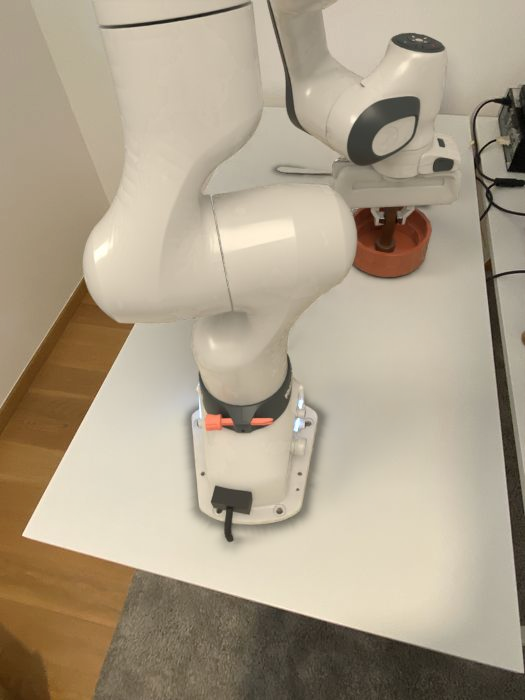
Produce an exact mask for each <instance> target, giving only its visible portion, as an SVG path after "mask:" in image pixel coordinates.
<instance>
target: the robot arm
mask: <svg viewBox="0 0 525 700" xmlns="http://www.w3.org/2000/svg"><path fill="white" fill-rule="evenodd" d="M90 1H91V4H92V9H93V12H94V16H95V19H96V24H97V25H98V26H97V27H98V31H99V34H100V38H101V42H102V46H103V48H104V53H105V55H106V56H105V57H106V60H107V63H108V67H109V72H110V77H111V80H112V84H113V89H114V93H115V99H116V102H117V106H118V112H119V118H120V122H121V128H122V137H123V149H124V150H123V165H122V170H121V171H122V172H121V177H120V181H119V186H118V188H117V190H116V193H115V197H114V198H113V199H112V200H113V201H112V202H111V204H110V206H109V208H108V210H107V211H106V212H105V214H104V215H103V216H102V218H100V220H99V221H98V222H97V223H96V224H95V225H94V226H93V229H92V230H91V232H90V233H89V236H88V237H87V240H86V243H85V246H84V249H83V255H82V273H83V277H84V278H83V279H84V282H85V285H86V288H87V291H88V293H89V295H90V296H91V298H92V300H93V301H94V303H95V305H97V306H98V308H99V309H100V310H101V311H102V312H103V313H104V314H105V315H107V316H108V317H109V318H110V319H111V320H114V321H115V322H117V323H118V324H138V325H139V324H140V325H142V324H144V325H146V324H149V325H150V324H151V325H154V324H155V325H156V324H164V325H165V324H173V323H176V322H177V323H178V322H182V321H188V320H193V319H196V320H195V322H194V324H193V327H192V331H191V336H190V337H191V338H190V346H191V351H192V353H193V356H194V360H195V363H196V366H197V368H198V373H197V374H198V384H197V386H196V387H195V389H196V390H195V391H196V393H197V395H198V402H199V403H198V404H199V408H198V409H197V410H195V411H194V412H193V413H192V414H191V418H190V419H191V430H192V431H191V433H192V443H193V454H194V466H195V477H196V489H197V490H196V491H197V500H198V507H199V509H200V511H201V512H202V513H203V514H205V515H206V516H208V517H210V518H212V519H214V520H217V521H220V522H222V523H223V522H224V527H223V532H224V533H223V534H224V537H225V539H226V542H228V543H232V542H233V541H234V535H233V533H232V524H234V525H249V526H250V525H251V526H252V525H267V524H268V525H269V524H273V523H278V522H281V521H284V520H287V519H289V518H292V517H293V516H296V515H297V514H298V513H300V512H301V511H302V507H303V504H304V500H305V499H304V498H305V493H306V487H307V483H308V478H309V472H310V466H311V462H312V461H311V460H312V455H313V450H314V444H315V440H316V434H317V428H318V423H319V417H318V412H317V411H315V410H314V409H313V408H312V407H310V406H308V405H307V404H305V391H304V390H305V389H304V385H302V383H301V382H300V381H298V380H297V379H296V378H295V377H294V374H293V373H294V372H293V366H292V362H291V358H290V356H289V353H288V340H289V334H290V332H291V330H292V328H293V327H294V325H295V323H296V322H297V321H298V319H299V318H300V317H301V316H302V315H303V314H304V313H305V311H306V310H307V309H308V308H309V307H310V306H311V305H312V304H313V303H314V302H315V301H316V300H318V299H319V298H320V297H322V296H323V295H324V294H325V293H327V292H328V291H330V290H331V289H333V288H335V287H336V286H338V285H340V284H341V283H342V282H343V281H344V280H345V279H346V278H347V276H348V274H349V272H350V270H351V269H352V266H353V265H354V264H353V262H354V258H355V255H356V250H357V229H356V224H355V220H354V217H353V213H352V211H351V210H352V209H359V208H370V209H371V213H372V214H373V216H374V223H375V226H379V225H384V219H385V218H384V212H379V208H380V207H399V206H404V208H403V209H402V210H401V211H398V212H397V217H396V225H405V221H406V217H408V216H409V215H410V214H411V213H412V212H413V211H414V209H415V208H416V206H417V207H418V206H420V207H421V206H422V207H423V206H445V205H446V206H447V205H452V204H453V203H455V202H456V201H457V200H458V199H459V195H460V192H461V186H462V185H461V184H462V173H461V170H460V168H461V165H462V155H461V151H460V148H459V145H458V143H457V142H456V139H455V138H454V137H453V136H452V135H450V134H446V133H442V132H438V131H436V127H435V122H436V119H437V116H438V115H439V113H440V111H441V108H442V102H443V98H444V93H445V88H446V81H447V76H448V75H447V74H448V52H447V51H448V50H447V48H446V46H445V45H444V44H443V43H442V42H441V41H439V40H437V39H436V38H433V37H431V36H428V35H426V34H423V33H416V32H401V33H398V34H396V35H393V36H391V37H390V39H389V41H388V43H387V47H386V50H385V53H384V56H383V57H382V58H381V61H380V62H379V64H378V65H377V66H376V67H375V68H374V69H373V70H372V72H371V73H369V74H368V75H367V76H365V78H364V77H362V76H361V75H359V74H358V73H356V72H354V71H353V70H351V69H349V68H347V67H345V66H344V65H343V64H342V63H340V62H339V61H338V60H337V59H336V58H335V57H334V56H333V55H332V54H331V52H330V50H329V47H328V41H327V35H326V29H325V22H324V16H323V10H325V9H327V8H329V7H331V6H332V5H334V4H335V3H337V2H339V0H266V4H267V9H268V14H269V17H270V21H271V24H272V29H273V31H274V36H275V40H276V43H277V47H278V51H279V55H280V59H281V62H282V66H283V71H284V79H285V111H286V114H287V117H288V119H289V121H290V123H291V124H292V125H293V126H294V127H295V128H296V129H298V130H299V131H302V132H304V133H306V134H308V135H309V136H312V137H314V138H315V139H316V140H318V141H319V142H321V143H322V144H323V145H325V146H327V147H328V148H329V149H330V150H332V151H334V152H336V153H337V154H339V156H340V157H339V156H338V157H337V158H336V159H335V160H334V161H333V162H332V165H331V171H332V173H331V176H332V178H333V183H332V184H333V185H332V187H331V185H328V184H317V183H316V184H315V183H284V182H283V183H274V184H268V185H263V186H257V187H252V188H246V189H240V190H235V191H229V192H223V193H217V194H212V195H211V194H204V193H202V192H201V191H202V189H203V187H204V185H205V182H206V181H207V179H208V178H209V176H210V175H211V174H212V173H213V172H214V171H215V170H216V169H217V168H218V167H219V166H221V165H222V164H223V163H225V162H226V161H227V160H229V159H230V158H232V157H233V156H234V155H235V154H237V153H238V152H239V151H240V150H241V149H243V148H244V147H245V146H246V144H247V143H248V142H249V141H250V140H251V138H252V137H253V136H254V134H255V132H256V131H257V129H258V127H259V125H260V123H261V120H262V118H263V117H262V116H263V113H264V105H265V104H264V103H265V101H264V92H263V84H262V83H263V82H262V75H261V65H260V55H259V48H258V38H257V28H256V19H255V10H254V2H253V1H252V0H90ZM307 424H309V425H307ZM218 510H221V512H220V513H218ZM279 510H281V511H282V512H281V513H278V512H277V511H279Z"/></svg>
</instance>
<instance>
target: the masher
mask: <svg viewBox="0 0 525 700" xmlns="http://www.w3.org/2000/svg"><path fill="white" fill-rule="evenodd" d="M397 212H398V207H385V210H384V218H385V219H384V225H382V230H381V236H380V237H378V238H377V239H376V243H375V250H376V251H380V252H386V253H392V252H393V251H394V250H395V245H396V241H395V239H394V238H393V234H394V228H395V223H396V217H397Z"/></svg>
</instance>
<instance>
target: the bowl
mask: <svg viewBox="0 0 525 700" xmlns="http://www.w3.org/2000/svg"><path fill="white" fill-rule="evenodd" d="M403 208H404V206H399V207H398V211H401V210H402V209H403ZM384 210H385V207H380V208H379V212H384ZM352 215H353V217H354V220H355V224H356V229H357V250H356V255H355V258H354V262H353V264H352V265H354V266H355V267H356V268H357V269H359V270H360V271H363V272H364V273H367V274H369V275H372V276H376V277H380V278H381V277H382V278H397V277H401V276H404V275H408V274H410V273H412V272H414V271H415V270H417V269H418V268H420V266H421V265H422V264H423V263H424V261H425V259H426V255H427V252H428V248H429V243H430V239H431V236H432V231H433V228H432V224H431V220H430V219H429V218H428V217H427V215H426V214H425V213H424V212H423V211H421V210H420V209H418V208H417V207H415V209H414V211H413V212H412V213H411V214H410V215H409V216H408V217H406V221H405V225H396V223H395V228H394V234H393V238H394V239H395V241H396V245H395V250H394V251H393V252H392V253H386V252H380V251H376V250H375V243H376V239H377V238H378V237H380V236H381V230H382V225H379V226H375V223H374V216H373V214H372V213H371V209H370V208H356V211H354V212H353V213H352Z"/></svg>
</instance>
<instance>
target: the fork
mask: <svg viewBox="0 0 525 700" xmlns="http://www.w3.org/2000/svg"><path fill="white" fill-rule="evenodd" d="M276 171H278V172H279V173H288V174H313V175H314V174H320V175H321V174H325V175H326V174H332V170H322V169H312V168H311V169H310V168H301V167H294V166H279V167H277V169H276Z"/></svg>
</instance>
